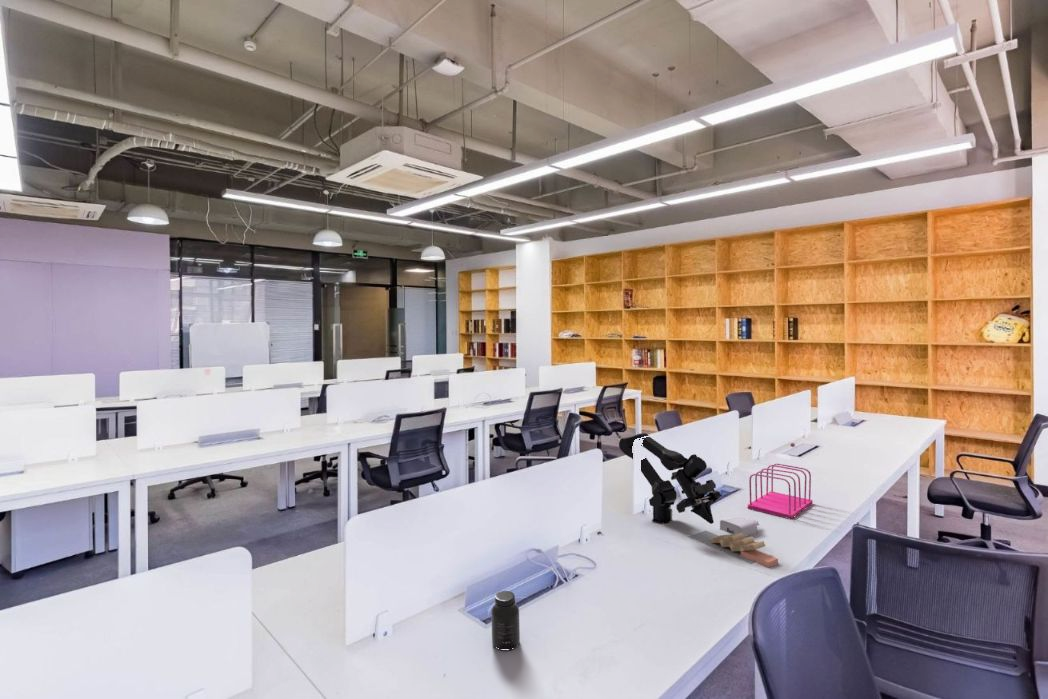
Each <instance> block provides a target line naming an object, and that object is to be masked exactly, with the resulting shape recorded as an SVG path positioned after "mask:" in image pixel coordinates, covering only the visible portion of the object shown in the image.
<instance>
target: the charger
mask: <svg viewBox="0 0 1048 699" xmlns="http://www.w3.org/2000/svg"><path fill="white" fill-rule="evenodd" d="M759 525H760V523H759V520H756V519H752V518H746V517H743V516H741V515H734V516H733V515H732V516H730V517H727V518H724V519H721V520H720V521H719V530H720V531H723V532H726V533H729V534H738V533H742V534H743V537H744V538H746V537H749V536H751V535H753V534H756V533H758V532H757V531H758V529H757V528H758V527H759ZM757 526H758V527H757Z"/></svg>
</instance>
